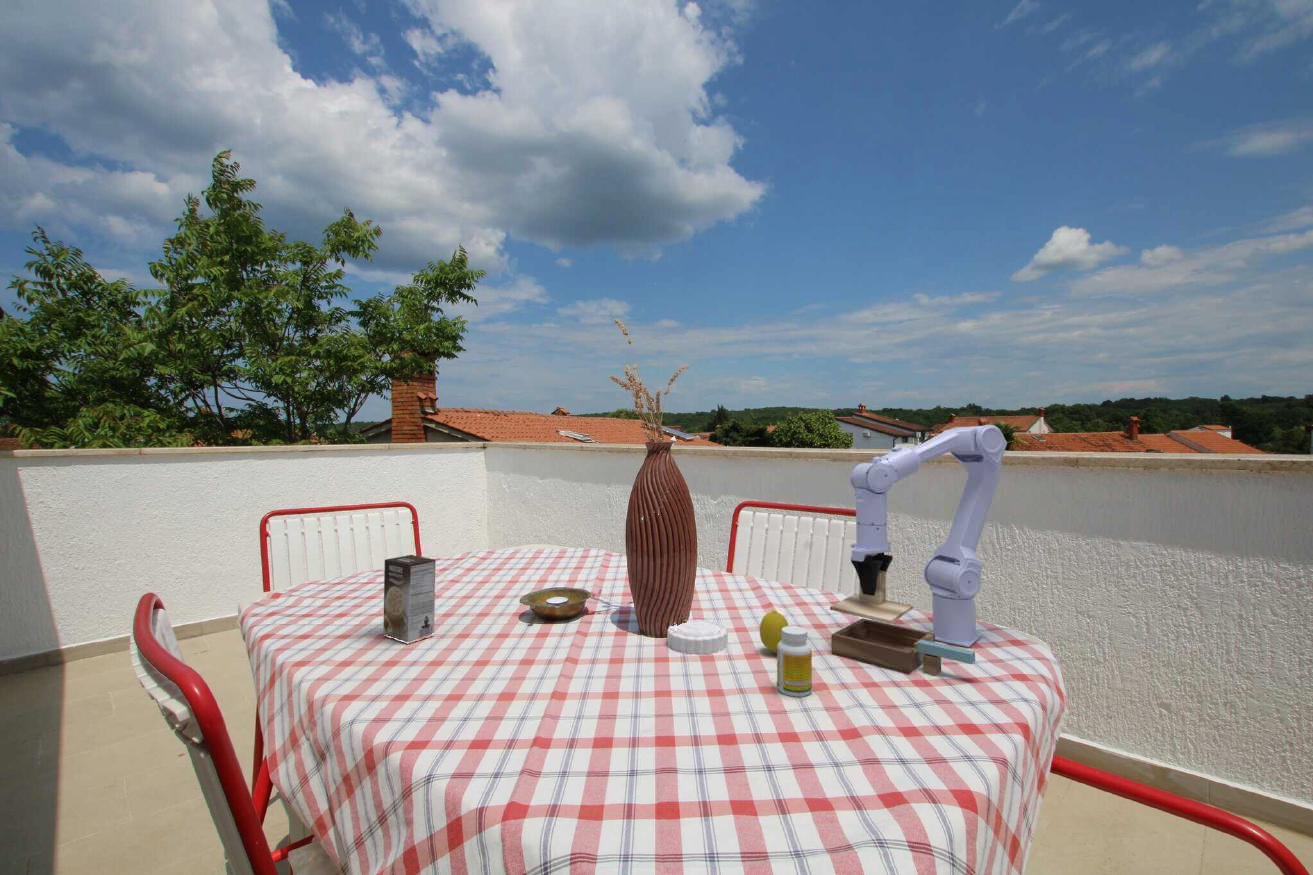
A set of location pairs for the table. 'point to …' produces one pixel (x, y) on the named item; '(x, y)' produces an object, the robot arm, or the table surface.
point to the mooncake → (697, 637)
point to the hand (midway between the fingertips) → (872, 592)
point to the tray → (885, 646)
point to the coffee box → (409, 597)
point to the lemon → (772, 630)
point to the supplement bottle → (794, 662)
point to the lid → (873, 604)
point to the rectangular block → (946, 651)
